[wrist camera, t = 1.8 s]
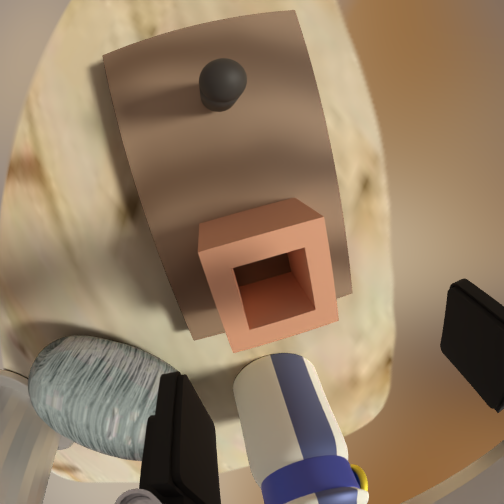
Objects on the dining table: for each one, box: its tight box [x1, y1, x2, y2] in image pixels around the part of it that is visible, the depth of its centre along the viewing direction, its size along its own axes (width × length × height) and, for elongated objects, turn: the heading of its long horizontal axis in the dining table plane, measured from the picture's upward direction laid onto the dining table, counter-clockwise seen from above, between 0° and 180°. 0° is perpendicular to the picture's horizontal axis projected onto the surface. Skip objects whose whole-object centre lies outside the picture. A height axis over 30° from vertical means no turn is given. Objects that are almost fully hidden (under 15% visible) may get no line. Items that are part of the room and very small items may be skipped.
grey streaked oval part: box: [28, 336, 177, 461], centre depth 20 cm, size 14×10×10 cm
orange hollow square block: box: [198, 197, 339, 353], centre depth 17 cm, size 6×6×5 cm
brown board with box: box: [103, 10, 352, 340], centre depth 16 cm, size 20×12×8 cm, turn 14°
